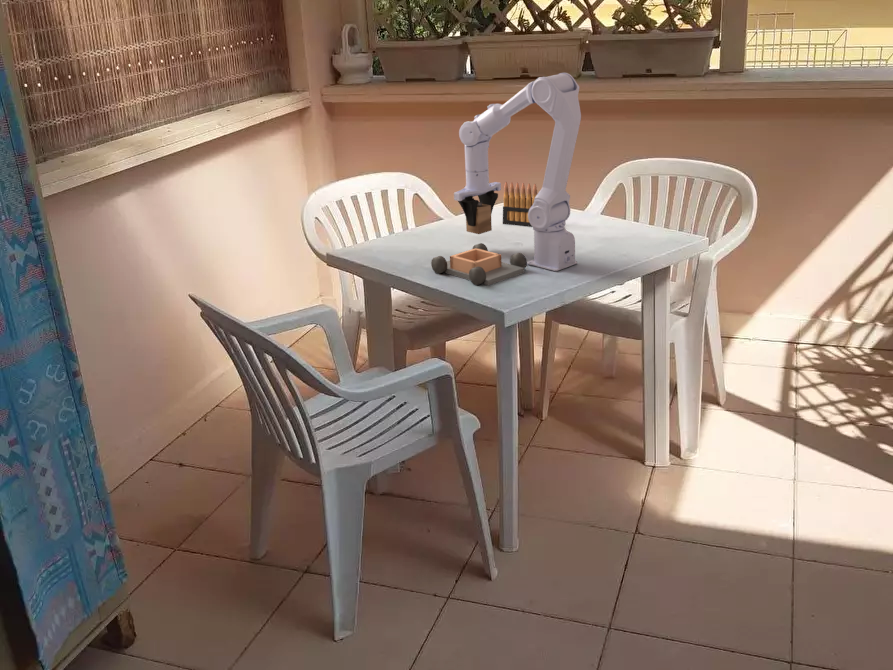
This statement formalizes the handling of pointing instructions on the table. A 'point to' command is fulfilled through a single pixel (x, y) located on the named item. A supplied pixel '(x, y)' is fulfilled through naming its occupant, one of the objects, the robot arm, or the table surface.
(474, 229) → the block
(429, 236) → the table surface
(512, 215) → the ammunition clip
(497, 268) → the chassis
